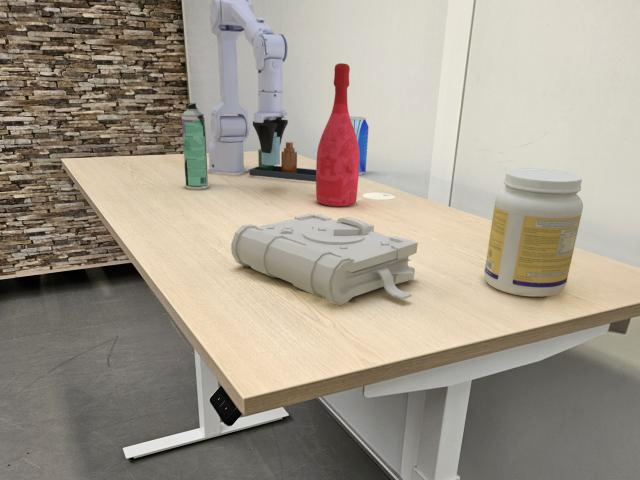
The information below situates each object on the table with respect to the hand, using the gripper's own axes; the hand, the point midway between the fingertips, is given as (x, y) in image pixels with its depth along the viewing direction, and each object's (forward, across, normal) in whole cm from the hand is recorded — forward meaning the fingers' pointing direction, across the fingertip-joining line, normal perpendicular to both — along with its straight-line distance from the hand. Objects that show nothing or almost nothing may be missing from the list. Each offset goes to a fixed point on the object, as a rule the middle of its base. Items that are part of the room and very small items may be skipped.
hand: (270, 151), depth 140 cm
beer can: (+10, +33, -12) cm, 36 cm away
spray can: (+10, -4, +18) cm, 21 cm away
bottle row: (+9, +20, +7) cm, 23 cm away
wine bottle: (+10, -4, -19) cm, 21 cm away
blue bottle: (+3, 0, 0) cm, 3 cm away
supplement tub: (+10, -44, -62) cm, 76 cm away
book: (+10, -53, -34) cm, 64 cm away
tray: (+10, +20, +2) cm, 22 cm away
